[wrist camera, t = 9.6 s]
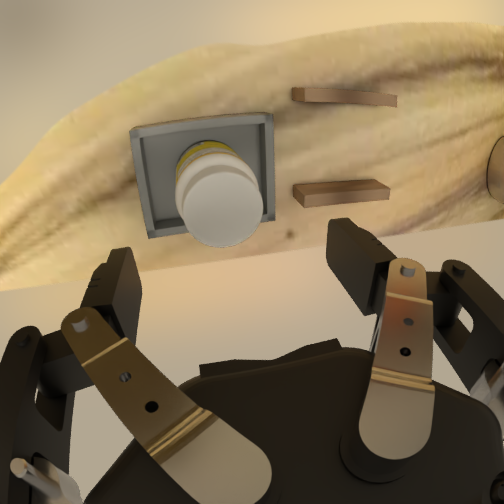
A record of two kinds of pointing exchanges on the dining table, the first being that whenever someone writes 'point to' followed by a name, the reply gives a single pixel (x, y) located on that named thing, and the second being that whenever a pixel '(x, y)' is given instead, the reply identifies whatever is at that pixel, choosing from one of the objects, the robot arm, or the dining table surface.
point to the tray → (177, 141)
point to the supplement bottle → (217, 194)
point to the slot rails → (345, 189)
